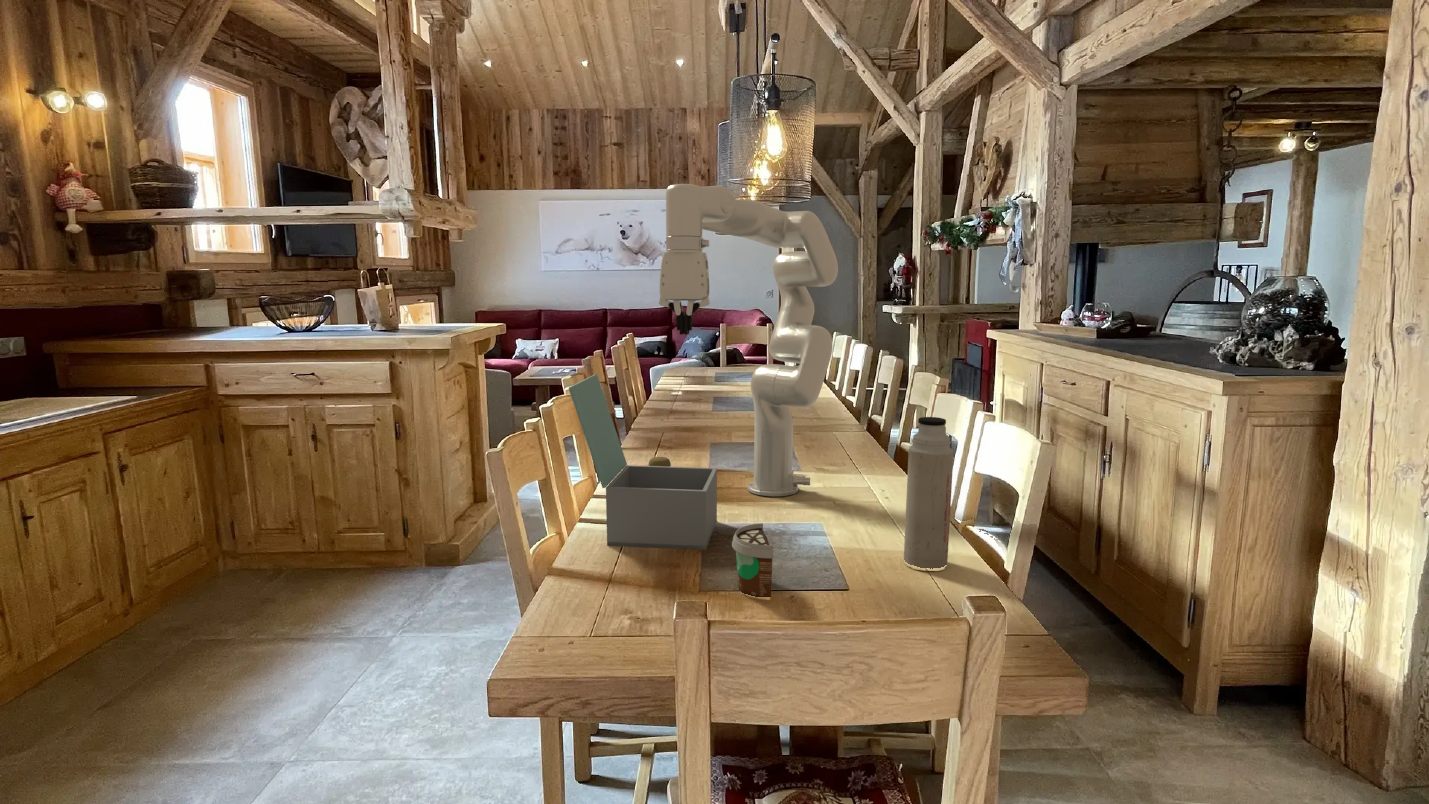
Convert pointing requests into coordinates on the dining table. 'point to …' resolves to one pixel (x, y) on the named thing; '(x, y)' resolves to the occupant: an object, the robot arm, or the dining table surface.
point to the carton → (662, 507)
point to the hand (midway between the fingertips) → (684, 333)
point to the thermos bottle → (928, 495)
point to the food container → (753, 560)
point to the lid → (598, 428)
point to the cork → (659, 461)
